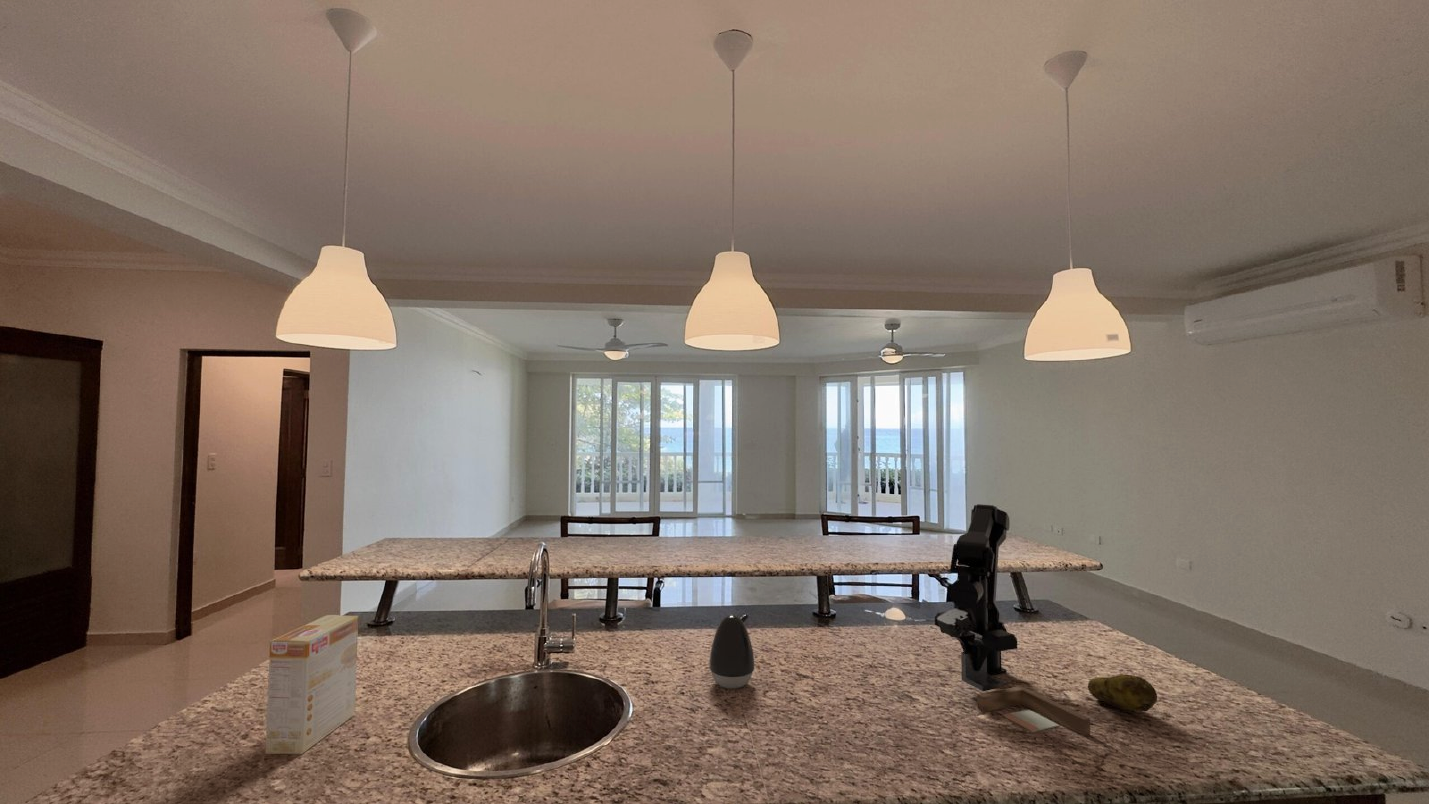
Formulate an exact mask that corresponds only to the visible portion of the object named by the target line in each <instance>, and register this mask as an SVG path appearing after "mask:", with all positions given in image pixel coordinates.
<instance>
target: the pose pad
mask: <svg viewBox="0 0 1429 804" xmlns="http://www.w3.org/2000/svg"><path fill="white" fill-rule="evenodd" d="M1002 717H1005V718H1006V719H1008V720H1009V721H1011V722H1013V723H1015V724H1017V725H1019V726H1020V727H1022V728H1024V729H1026V730H1027V731H1029V732H1031V733H1035V732H1040V731H1043V730H1048V729H1053V728H1057V727H1060V725H1059V723H1057V722H1055V721H1053V720H1051V719H1049V718H1047V717H1045V716H1044V715H1042V714H1040V713H1038V712H1037V713H1036V711H1034V710H1032V709H1030V708H1028V709H1025V710H1019V711H1014V712H1010V713H1004V714H1002Z"/></svg>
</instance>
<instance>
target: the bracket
mask: <svg viewBox="0 0 1429 804" xmlns="http://www.w3.org/2000/svg"><path fill="white" fill-rule="evenodd" d="M960 655H961V656H960V657H961V658H960V660H961V661H960V662H961V663H960V665H961V681H962V682H964V683H966V684H968V685H970V686H972V687H973V688H976V689H977V690H980V691H982V692H986V691H987V692H988V691H994V690H999V689H1002V688H1003V689H1004V688H1005V685H1006V684H1005V682H1004V681H1003V680H1000V679H999V678H996V677H994V676H993V675H988V674H987V657H986V659H985V661H984V663H983V665H982V667H981V669H980V670H979V671H975V670H974V664H973V651H966V652H964V651H961V652H960Z"/></svg>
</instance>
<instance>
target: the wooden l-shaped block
mask: <svg viewBox="0 0 1429 804" xmlns="http://www.w3.org/2000/svg"><path fill="white" fill-rule="evenodd" d="M976 700H977V710H978V711H980V712H982V713H988V712H992V711H996V710H1002V709H1006V708H1010V707H1016V706H1021V705H1023V706H1024V707H1026V708H1028V709H1029V710H1031V711H1033V712H1035V713H1036V712H1037V714H1039V715H1041V716H1043V717H1045V718H1047V719H1049V720H1051V721H1053V722H1055V723H1057V724H1060V725H1061V726H1063V727H1066V728H1067V729H1070V730H1071V731H1073V732H1076V733H1078V734H1079V735H1081V736H1083V737H1089V736H1091V719H1090V717H1087V716H1085V715H1083V714H1081V713H1079V712H1077V711H1075V710H1072V709H1070V708H1069V707H1066V706H1064V705H1062V704H1061V703H1058V702H1056V701H1053V700H1052V699H1050V698H1047V697H1046V696H1043V695H1041V694H1039V693H1037V692H1035V691H1033V690H1031V689H1028V688H1027V687H1024V686H1022V685H1020V684H1017V685H1014V686H1013V687H1009V688H1003V689H1002V688H1001V689H996V690H991V691H987V692H986V691H985V692H982V693H978V694H977V699H976Z"/></svg>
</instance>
